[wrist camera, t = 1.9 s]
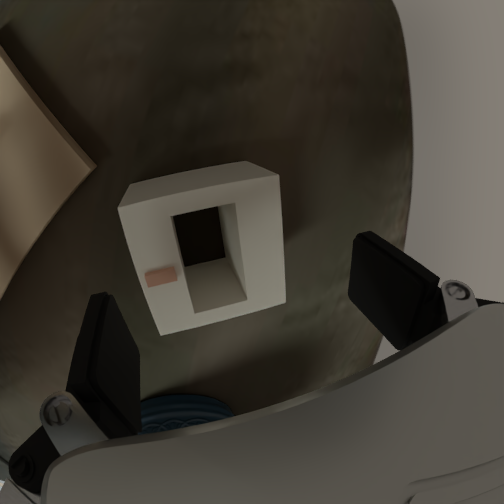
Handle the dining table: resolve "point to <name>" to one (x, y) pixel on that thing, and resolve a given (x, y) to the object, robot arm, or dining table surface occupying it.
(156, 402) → the canister
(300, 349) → the dining table surface
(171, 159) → the dining table surface
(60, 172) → the base
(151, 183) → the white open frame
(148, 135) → the dining table surface
